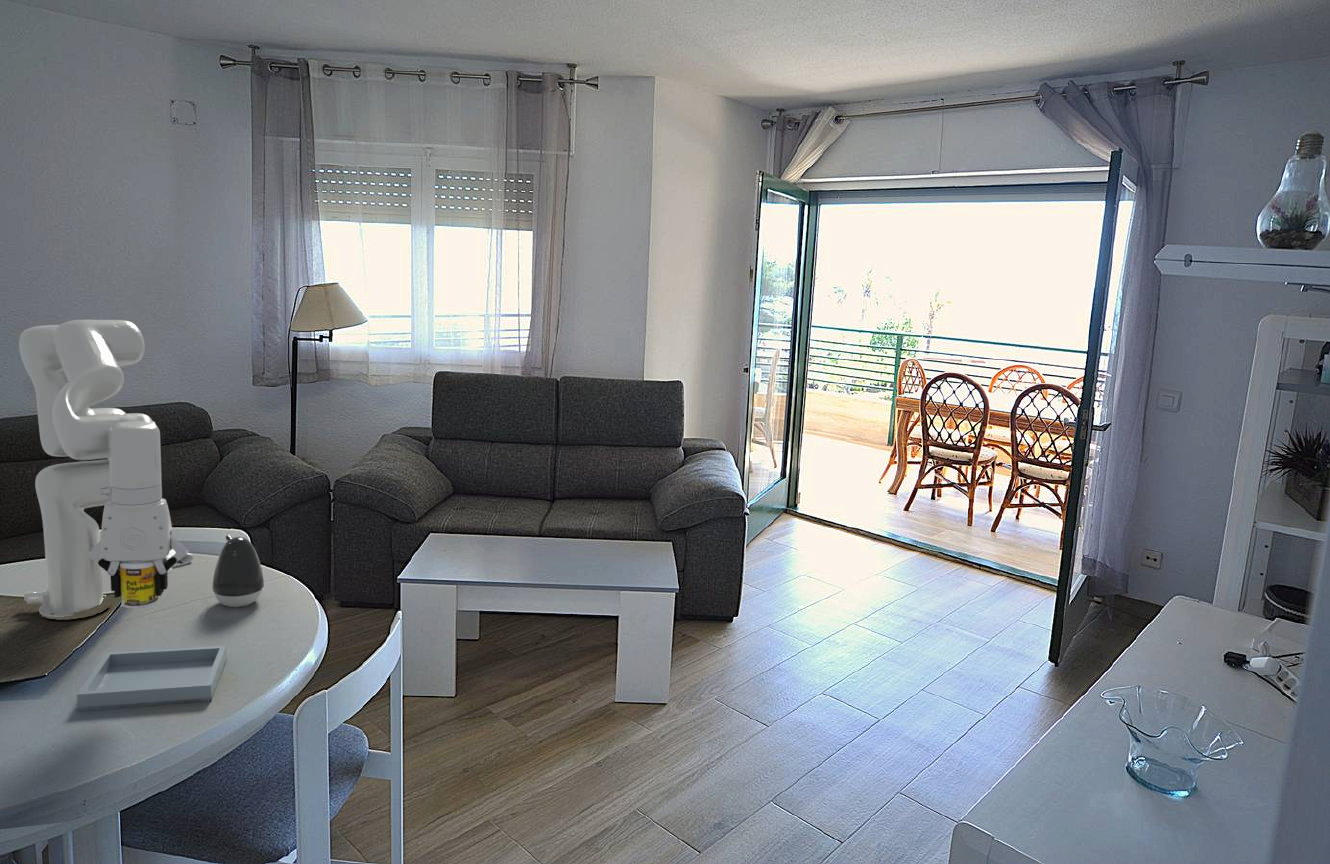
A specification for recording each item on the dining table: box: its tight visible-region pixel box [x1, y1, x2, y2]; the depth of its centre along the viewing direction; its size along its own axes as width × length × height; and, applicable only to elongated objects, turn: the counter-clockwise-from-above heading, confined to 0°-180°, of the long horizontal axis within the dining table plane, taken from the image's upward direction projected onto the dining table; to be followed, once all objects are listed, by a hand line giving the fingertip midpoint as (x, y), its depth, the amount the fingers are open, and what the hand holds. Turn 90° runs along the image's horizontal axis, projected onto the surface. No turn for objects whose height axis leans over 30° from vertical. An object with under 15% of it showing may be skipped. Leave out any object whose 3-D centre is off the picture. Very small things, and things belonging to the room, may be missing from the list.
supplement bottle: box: [120, 561, 159, 610], centre depth 150 cm, size 6×6×10 cm
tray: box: [76, 645, 228, 712], centre depth 154 cm, size 20×16×3 cm
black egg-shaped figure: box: [212, 534, 265, 608], centre depth 190 cm, size 10×10×15 cm
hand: (140, 592), depth 150 cm, fingers closed on supplement bottle, 5 cm apart
